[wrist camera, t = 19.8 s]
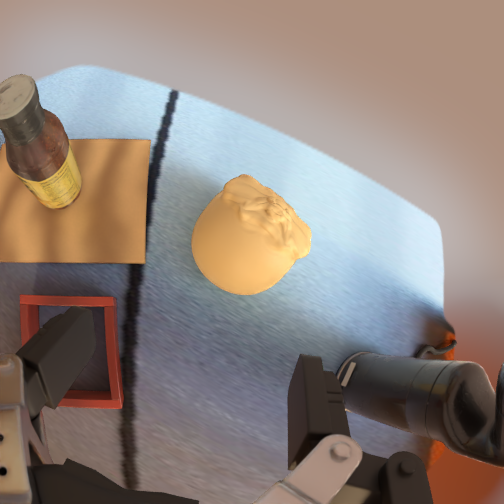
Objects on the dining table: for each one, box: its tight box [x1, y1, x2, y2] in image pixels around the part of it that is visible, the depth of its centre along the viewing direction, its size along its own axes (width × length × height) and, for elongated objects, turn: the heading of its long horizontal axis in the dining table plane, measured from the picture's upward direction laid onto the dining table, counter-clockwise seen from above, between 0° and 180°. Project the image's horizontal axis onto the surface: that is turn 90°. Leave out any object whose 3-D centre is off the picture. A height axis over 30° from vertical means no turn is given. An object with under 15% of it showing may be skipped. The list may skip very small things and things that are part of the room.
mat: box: [0, 139, 151, 264], centre depth 33 cm, size 22×16×1 cm
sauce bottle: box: [0, 74, 82, 210], centre depth 23 cm, size 6×6×20 cm
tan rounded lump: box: [191, 174, 311, 295], centre depth 35 cm, size 11×12×11 cm
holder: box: [20, 295, 124, 409], centre depth 29 cm, size 11×12×4 cm
